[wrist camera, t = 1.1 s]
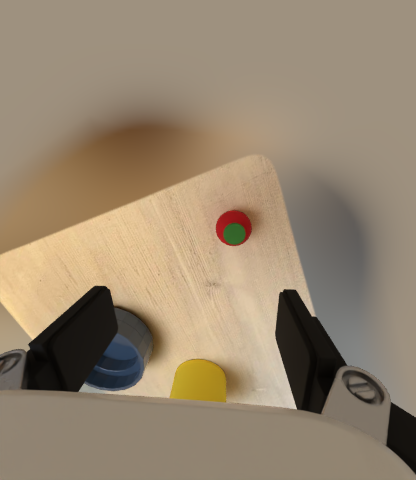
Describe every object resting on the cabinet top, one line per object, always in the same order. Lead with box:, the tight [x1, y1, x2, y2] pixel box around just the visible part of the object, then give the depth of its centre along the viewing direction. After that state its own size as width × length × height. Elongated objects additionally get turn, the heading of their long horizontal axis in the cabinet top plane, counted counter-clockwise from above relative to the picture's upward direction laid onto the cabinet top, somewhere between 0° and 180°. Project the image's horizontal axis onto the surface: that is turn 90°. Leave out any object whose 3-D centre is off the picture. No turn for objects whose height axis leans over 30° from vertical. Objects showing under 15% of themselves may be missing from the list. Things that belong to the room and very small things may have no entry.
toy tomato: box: [216, 211, 252, 246], centre depth 25 cm, size 5×5×5 cm
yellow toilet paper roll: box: [170, 359, 226, 402], centre depth 34 cm, size 10×10×9 cm
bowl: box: [84, 308, 153, 391], centre depth 34 cm, size 14×14×5 cm
